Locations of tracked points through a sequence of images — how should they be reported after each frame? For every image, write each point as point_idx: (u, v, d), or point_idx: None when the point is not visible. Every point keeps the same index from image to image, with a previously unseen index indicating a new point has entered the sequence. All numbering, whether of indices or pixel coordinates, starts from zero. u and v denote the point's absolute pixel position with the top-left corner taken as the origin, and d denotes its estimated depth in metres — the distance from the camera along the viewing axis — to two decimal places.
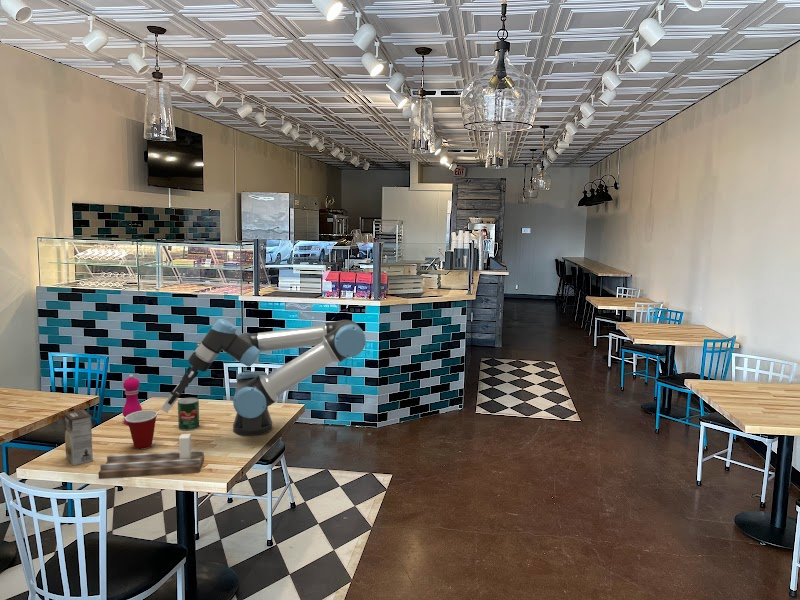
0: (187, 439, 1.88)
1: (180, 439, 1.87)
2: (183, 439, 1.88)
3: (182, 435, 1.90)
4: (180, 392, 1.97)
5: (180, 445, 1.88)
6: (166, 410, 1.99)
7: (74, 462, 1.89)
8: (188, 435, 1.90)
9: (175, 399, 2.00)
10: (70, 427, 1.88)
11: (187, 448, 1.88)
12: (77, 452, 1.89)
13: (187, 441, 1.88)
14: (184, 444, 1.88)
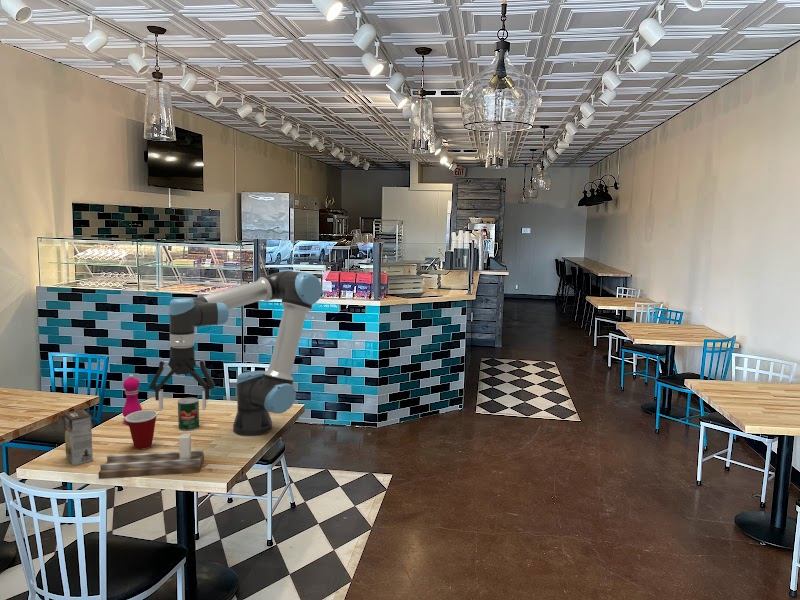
0: (187, 439, 1.88)
1: (180, 439, 1.87)
2: (183, 439, 1.88)
3: (182, 435, 1.90)
4: (212, 381, 1.90)
5: (180, 445, 1.88)
6: (205, 406, 1.91)
7: (74, 462, 1.89)
8: (188, 435, 1.90)
9: None
10: (70, 427, 1.88)
11: (187, 448, 1.88)
12: (77, 452, 1.89)
13: (187, 441, 1.88)
14: (184, 444, 1.88)
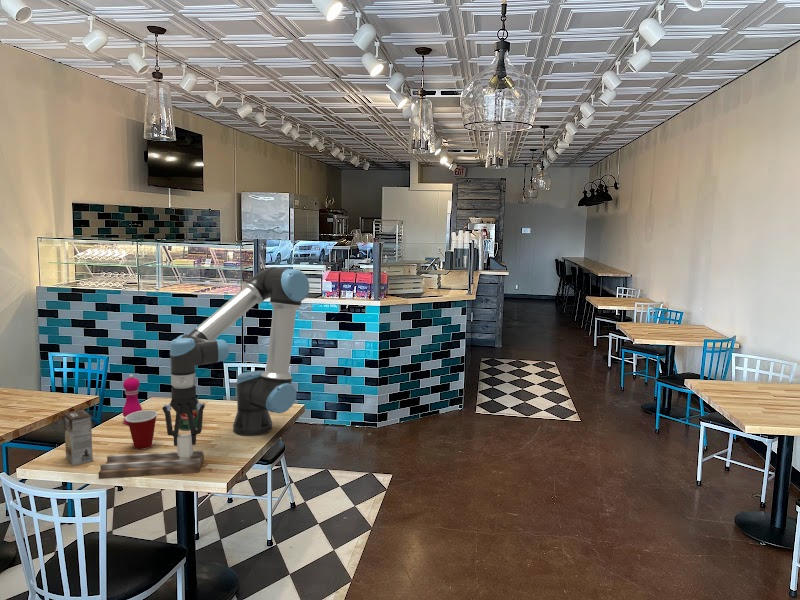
0: (187, 439, 1.88)
1: (180, 439, 1.87)
2: (183, 439, 1.88)
3: (182, 435, 1.90)
4: (201, 426, 1.91)
5: (180, 445, 1.88)
6: (192, 451, 1.91)
7: (74, 462, 1.89)
8: (188, 435, 1.90)
9: None
10: (70, 427, 1.88)
11: (187, 448, 1.88)
12: (77, 452, 1.89)
13: (187, 441, 1.88)
14: (184, 444, 1.88)
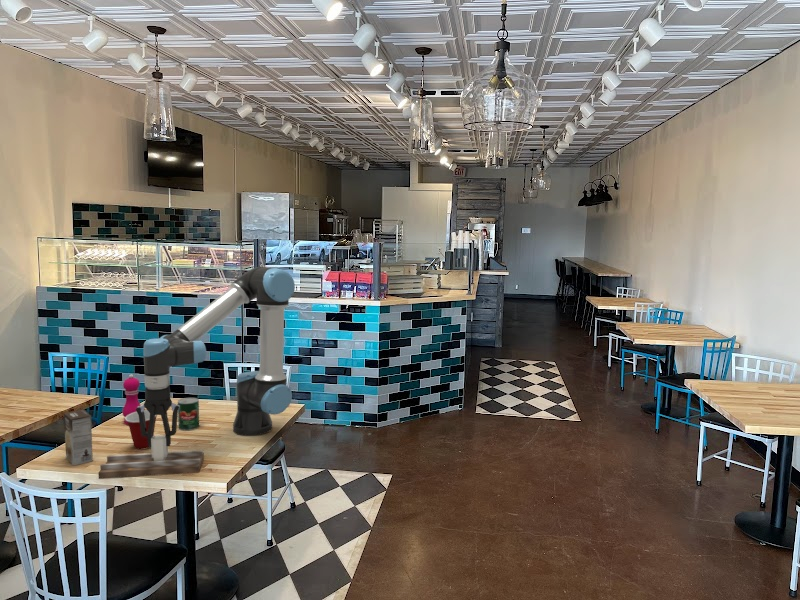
0: (161, 440, 1.86)
1: (154, 440, 1.86)
2: (157, 440, 1.86)
3: (156, 436, 1.88)
4: (176, 427, 1.89)
5: (154, 446, 1.86)
6: (167, 452, 1.90)
7: (74, 462, 1.89)
8: (162, 436, 1.89)
9: None
10: (70, 427, 1.88)
11: (161, 449, 1.87)
12: (77, 452, 1.89)
13: (161, 442, 1.86)
14: (158, 445, 1.86)
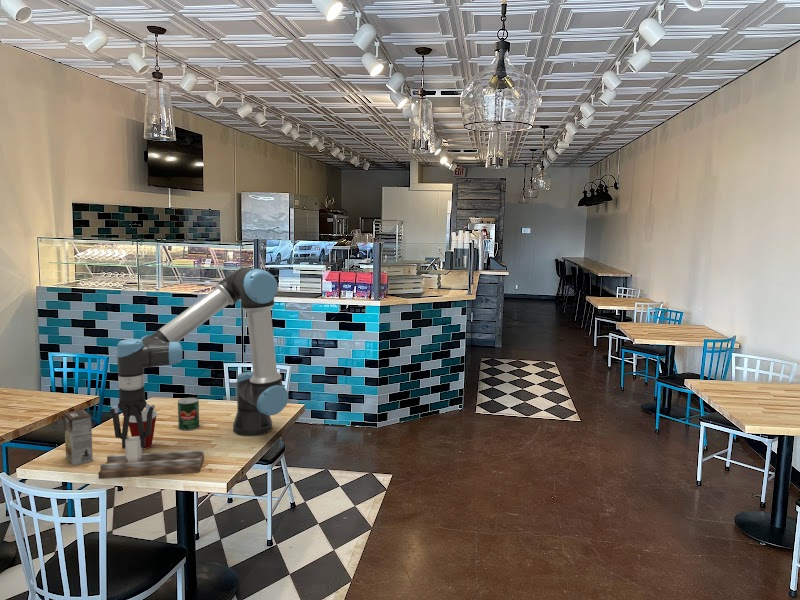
0: (135, 442, 1.85)
1: (128, 442, 1.84)
2: (132, 441, 1.84)
3: (131, 437, 1.87)
4: (151, 428, 1.88)
5: (128, 448, 1.84)
6: (142, 454, 1.88)
7: (74, 462, 1.89)
8: (137, 438, 1.87)
9: None
10: (70, 427, 1.88)
11: (135, 451, 1.85)
12: (77, 452, 1.89)
13: (135, 444, 1.85)
14: (132, 447, 1.85)
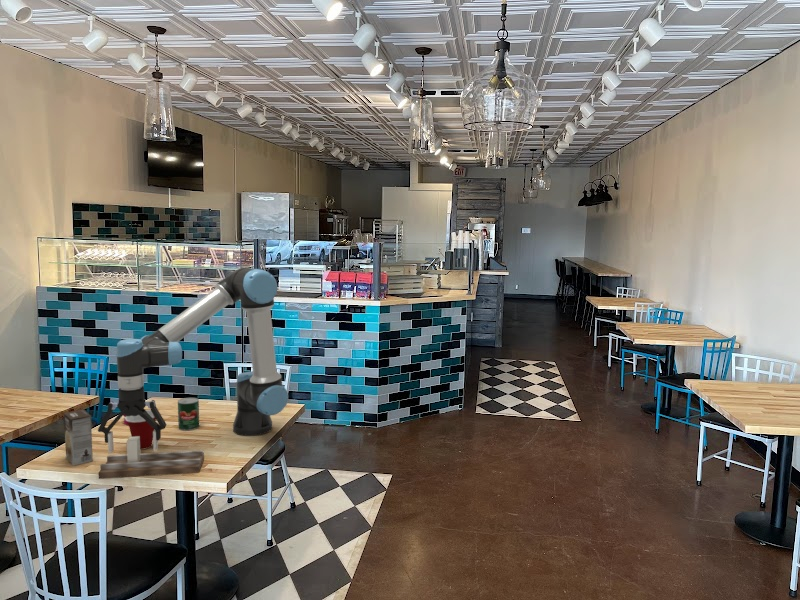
0: (135, 442, 1.85)
1: (128, 442, 1.84)
2: (131, 441, 1.84)
3: (130, 438, 1.87)
4: (164, 421, 1.88)
5: (128, 448, 1.84)
6: (157, 446, 1.89)
7: (74, 462, 1.89)
8: (137, 438, 1.87)
9: None
10: (70, 427, 1.88)
11: (135, 451, 1.85)
12: (77, 452, 1.89)
13: (135, 444, 1.85)
14: (132, 447, 1.85)
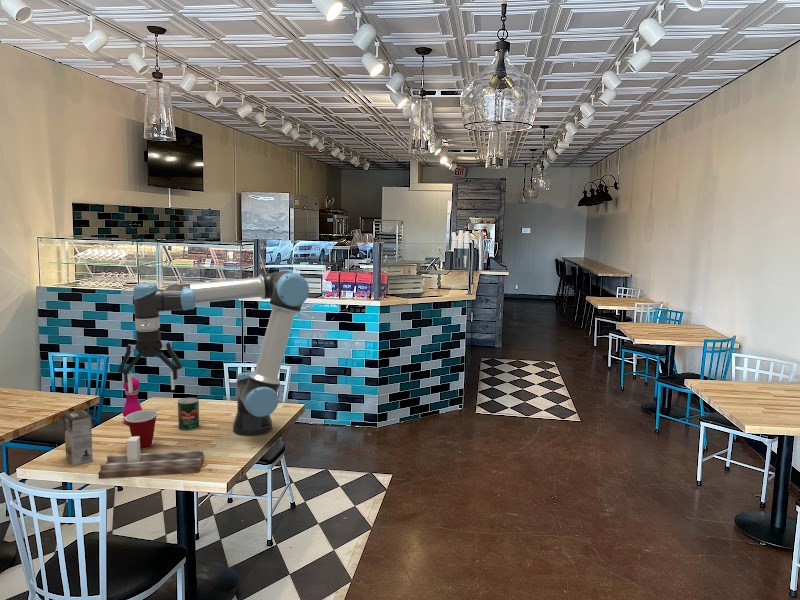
0: (135, 442, 1.85)
1: (128, 442, 1.84)
2: (131, 441, 1.84)
3: (130, 438, 1.87)
4: None
5: (128, 448, 1.84)
6: (174, 386, 1.99)
7: (74, 462, 1.89)
8: (137, 438, 1.87)
9: None
10: (70, 427, 1.88)
11: (135, 451, 1.85)
12: (77, 452, 1.89)
13: (135, 444, 1.85)
14: (132, 447, 1.85)
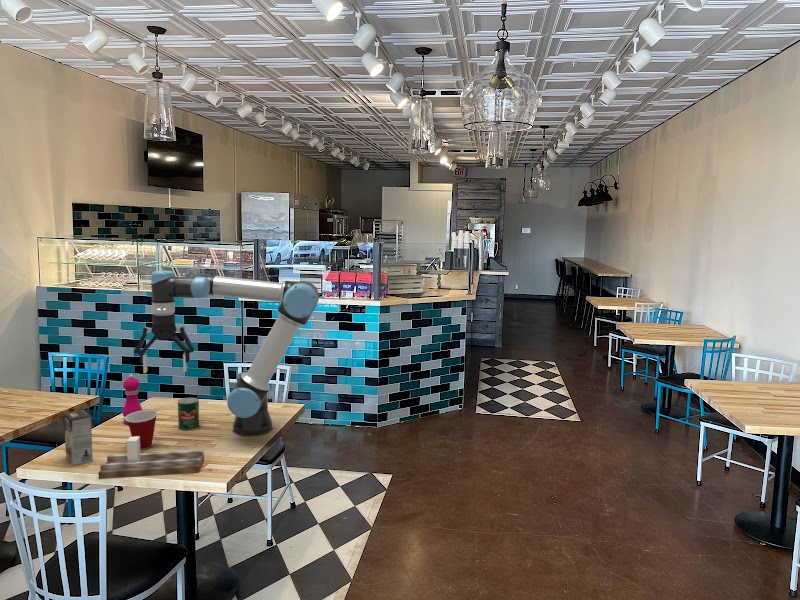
0: (135, 442, 1.85)
1: (128, 442, 1.84)
2: (131, 441, 1.84)
3: (130, 438, 1.87)
4: (192, 345, 2.09)
5: (128, 448, 1.84)
6: (186, 369, 2.10)
7: (74, 462, 1.89)
8: (137, 438, 1.87)
9: None
10: (70, 427, 1.88)
11: (135, 451, 1.85)
12: (77, 452, 1.89)
13: (135, 444, 1.85)
14: (132, 447, 1.85)
